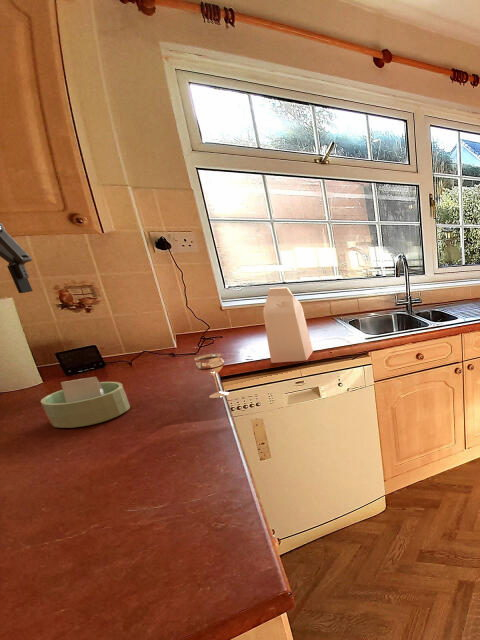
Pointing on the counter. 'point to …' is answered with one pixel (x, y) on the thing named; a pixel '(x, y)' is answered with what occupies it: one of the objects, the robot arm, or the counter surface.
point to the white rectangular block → (82, 389)
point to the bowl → (86, 407)
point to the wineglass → (211, 369)
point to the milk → (286, 327)
